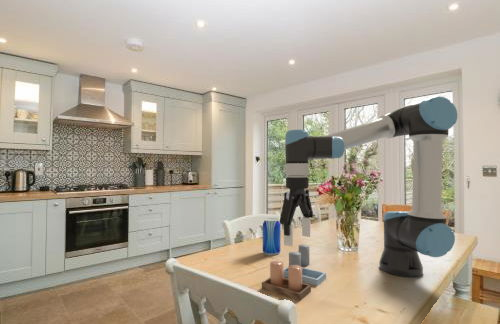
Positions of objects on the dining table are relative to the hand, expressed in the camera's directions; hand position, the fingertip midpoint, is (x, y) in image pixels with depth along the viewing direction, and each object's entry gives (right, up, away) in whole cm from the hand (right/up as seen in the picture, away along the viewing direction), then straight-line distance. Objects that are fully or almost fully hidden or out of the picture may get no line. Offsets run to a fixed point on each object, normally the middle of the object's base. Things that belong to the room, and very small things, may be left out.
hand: (297, 240), depth 92 cm
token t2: (-1, -16, -3) cm, 16 cm away
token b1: (+1, -16, +11) cm, 20 cm away
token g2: (+7, -17, +23) cm, 29 cm away
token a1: (-7, -16, +1) cm, 17 cm away
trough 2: (+4, -16, +9) cm, 19 cm away
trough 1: (-4, -16, -1) cm, 17 cm away
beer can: (-6, -17, +38) cm, 43 cm away
